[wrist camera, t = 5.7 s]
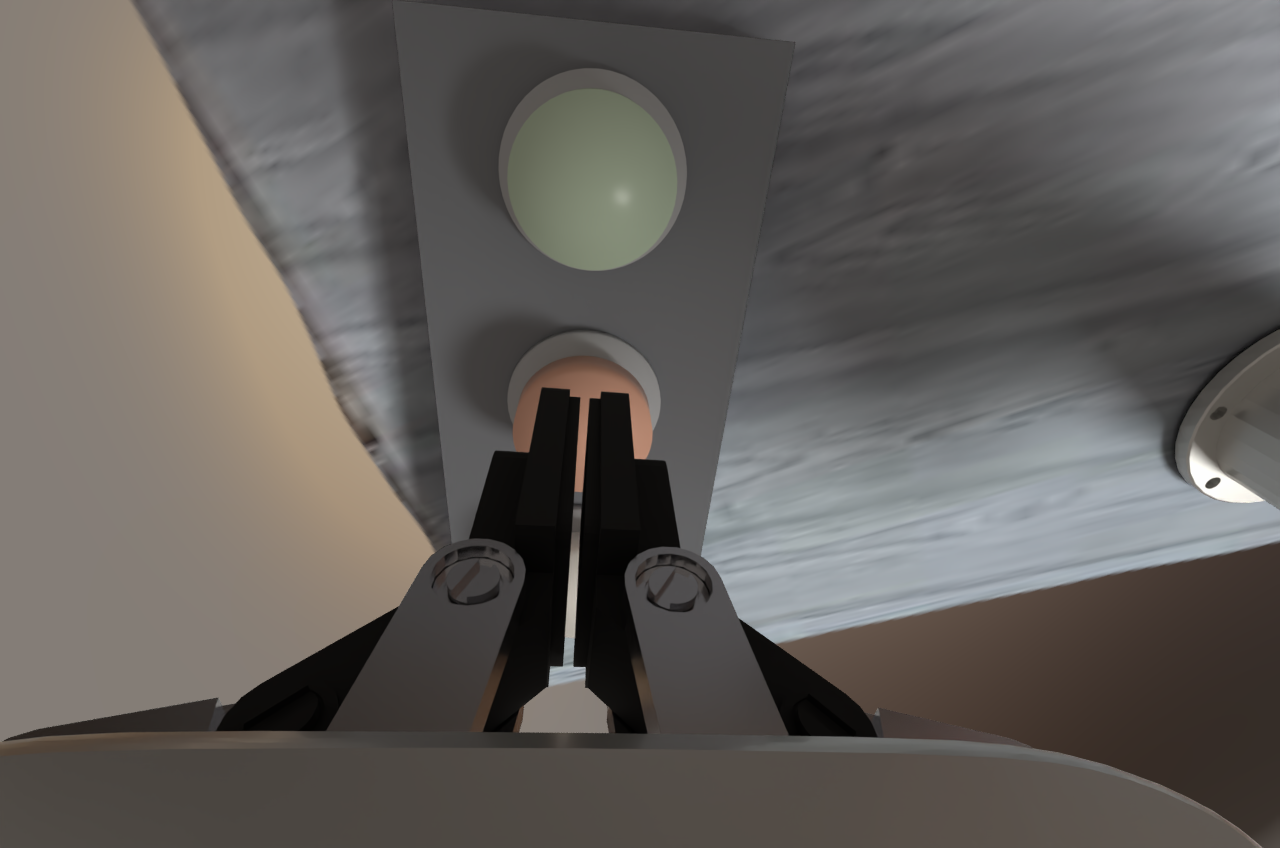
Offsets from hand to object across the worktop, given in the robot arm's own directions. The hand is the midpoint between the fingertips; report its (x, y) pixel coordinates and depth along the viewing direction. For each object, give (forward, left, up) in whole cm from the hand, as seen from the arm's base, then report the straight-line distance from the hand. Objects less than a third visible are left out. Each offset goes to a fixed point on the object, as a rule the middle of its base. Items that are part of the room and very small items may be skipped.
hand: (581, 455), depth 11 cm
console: (0, +7, -18) cm, 19 cm away
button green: (0, -3, -15) cm, 16 cm away
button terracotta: (0, +7, -14) cm, 16 cm away
